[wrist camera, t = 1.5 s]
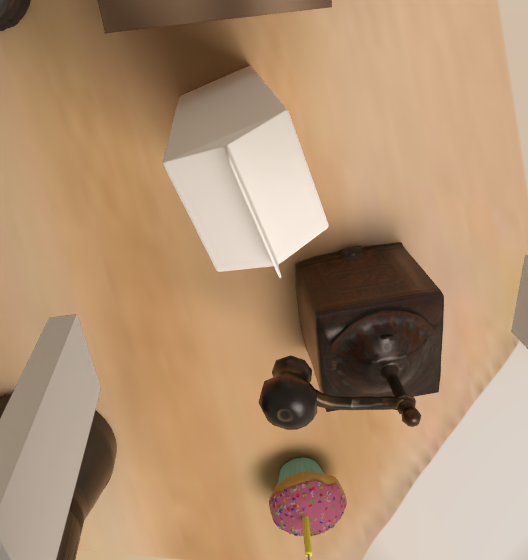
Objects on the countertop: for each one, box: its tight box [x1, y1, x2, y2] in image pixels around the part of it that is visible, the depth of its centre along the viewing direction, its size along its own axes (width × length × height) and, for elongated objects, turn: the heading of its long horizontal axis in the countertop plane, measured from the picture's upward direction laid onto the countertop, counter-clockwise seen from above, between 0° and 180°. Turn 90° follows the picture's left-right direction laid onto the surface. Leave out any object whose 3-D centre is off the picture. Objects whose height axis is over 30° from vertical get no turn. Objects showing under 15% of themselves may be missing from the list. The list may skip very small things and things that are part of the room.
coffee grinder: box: [259, 243, 444, 430], centre depth 41 cm, size 16×11×18 cm
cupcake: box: [269, 458, 347, 560], centre depth 54 cm, size 9×8×12 cm
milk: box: [163, 66, 329, 278], centre depth 30 cm, size 6×6×22 cm
